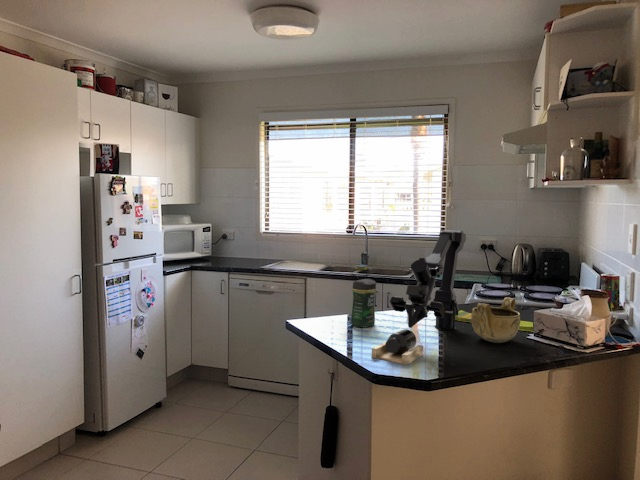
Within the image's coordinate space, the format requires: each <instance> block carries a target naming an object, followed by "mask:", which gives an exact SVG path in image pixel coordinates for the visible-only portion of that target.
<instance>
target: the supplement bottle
mask: <svg viewBox="0 0 640 480" xmlns="http://www.w3.org/2000/svg"><path fill="white" fill-rule="evenodd" d="M385 342H386V343H385V347H386V349H387V351H388V352H390V353H395V354H402V353H404V352H406V351H409V350H411V349H413V348H414V347H416V344H417V336H416V334H415V333H414V332H413V331H412V330H410V329H401V330H399V331H397V332H394V333H392V334H390V335H389V336H388V338H387V340H385Z"/></svg>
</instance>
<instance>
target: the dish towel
mask: <svg viewBox="0 0 640 480" xmlns="http://www.w3.org/2000/svg"><path fill="white" fill-rule="evenodd" d="M471 315H472V312H467V311H464V310H463V309H462V310H459V313H458V315H455V320H457V321H456V322H459V321H463V322H462V323H465V322H469V323H468V324H472V321H471ZM533 328H534V327H533V322H532V321H527V320H526V321H525V320H520V327H519V330H521V331H531V332H533ZM521 331H520V332H521Z"/></svg>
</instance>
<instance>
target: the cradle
mask: <svg viewBox="0 0 640 480" xmlns="http://www.w3.org/2000/svg"><path fill="white" fill-rule="evenodd" d="M385 343H386V341H384V342H382V343H380V344H378V345H376V346H373V347H372V348H371V359H377V360H378V359H379V360H384V361H386V362H387V361H388V362H392V363H393V362H394V363H398V364H401V365H405V366H407V365H409V364H411V363H412V362H413V361H416V360H417V359H419V358H420V357H421V356H423V355H424V345H421V344H419V345H415V346H414V347H413V348H412V349H410V350H408V351H406V352H404V353H402V354H395V353H390V352H388V351H387V349H386V347H385Z"/></svg>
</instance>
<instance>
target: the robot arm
mask: <svg viewBox="0 0 640 480" xmlns="http://www.w3.org/2000/svg"><path fill="white" fill-rule="evenodd" d="M438 235H439V237H438V239H437V241H436V243H435V245H434V247H433V249H432V250H431V251H432V252H431V253H430V254H429V255H428V256H426V257H419V259H417V260H415V261H413V262H412V263H411V265H410V269H411V272H412V274H413V276H414V279H415V281H417V284H416V285H412V284H407V287H406V292H405V294H406V295H407V296H408V300H406V301H405V299H404V297H402V296H396V295H393V296H392V297H391V298H390V299H389V303H390V305H391V307H392V309H393V310H394V312H400V313H403V312H406V313H407V324H408V325H407V326H408V328H409V329H410V328H413V327H414V326H415V325H416V324H418V323H419V322H420V321H422V320H423V319H425V318H428V314H429V312H433V315H434V317H435V325H434V328H435V329H438V330H440V331H442V332H443V331H456V330H457V329H458V328H457V327H456V325H455V324H456V321H455V315H458V313H459V311H460V307H459V304H458V301H457V296H456V293H455V291H454V285H455V278H456V271H457V263H458V257H459V253H461V250H463V248H464V245H465V243H466V241H467V235H466V233H464V231H463V230H458V229H457V230H454V229H447V230H440V232H439V234H438ZM443 262H444V263H443ZM435 278H441V284H440V287H439V289H436V290H435V292H434V298H433V300H432V301H431V299H432V297H431V296H432V292H433V290H434V289H435V288H436V280H435ZM429 301H430V303H429ZM428 303H429V304H428Z"/></svg>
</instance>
